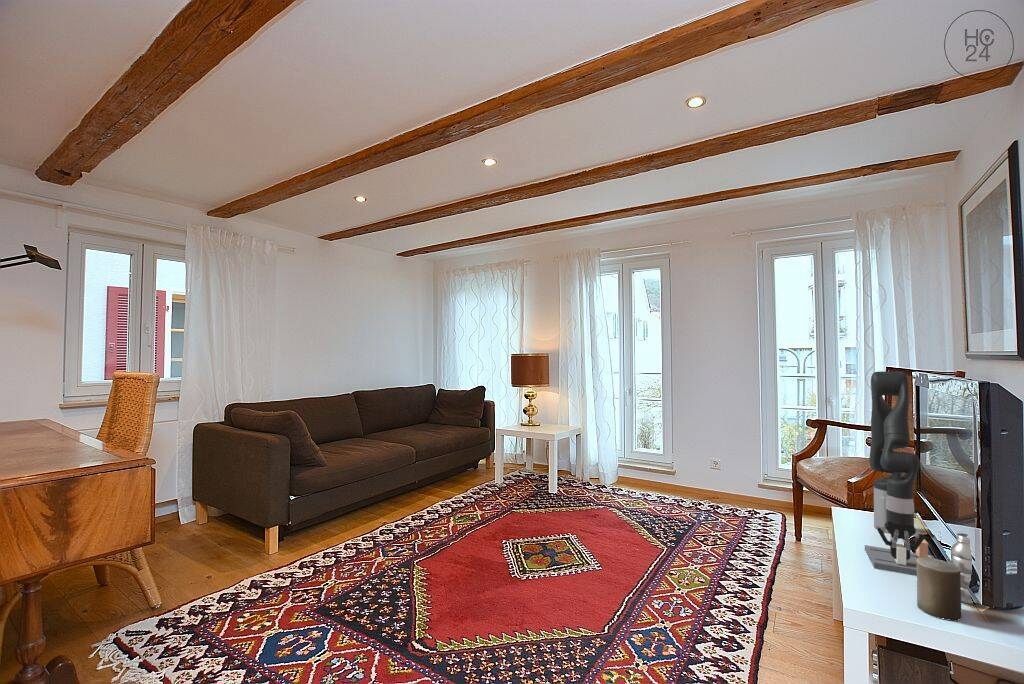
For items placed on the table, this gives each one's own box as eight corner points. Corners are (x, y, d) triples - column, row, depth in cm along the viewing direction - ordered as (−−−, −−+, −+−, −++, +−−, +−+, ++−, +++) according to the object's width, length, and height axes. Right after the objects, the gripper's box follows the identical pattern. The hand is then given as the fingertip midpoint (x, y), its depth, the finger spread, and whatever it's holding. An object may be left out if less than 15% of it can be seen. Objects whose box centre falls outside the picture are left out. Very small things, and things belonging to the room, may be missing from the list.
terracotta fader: (919, 558, 166) (919, 542, 166) (915, 553, 169) (915, 538, 169) (928, 559, 165) (928, 543, 165) (924, 554, 168) (924, 539, 168)
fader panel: (874, 568, 163) (874, 562, 163) (864, 550, 177) (864, 544, 177) (949, 581, 154) (949, 575, 154) (933, 561, 168) (933, 555, 168)
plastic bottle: (987, 608, 138) (986, 540, 139) (960, 605, 140) (960, 539, 140) (970, 596, 145) (969, 532, 145) (945, 594, 146) (944, 530, 146)
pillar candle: (965, 625, 130) (965, 571, 130) (919, 613, 136) (919, 561, 136) (956, 609, 138) (956, 558, 138) (913, 598, 144) (913, 550, 144)
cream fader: (897, 563, 161) (897, 547, 161) (894, 559, 165) (894, 543, 165) (906, 565, 160) (906, 548, 160) (902, 560, 164) (902, 544, 164)
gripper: (922, 509, 163) (922, 558, 163) (872, 502, 169) (872, 550, 169) (929, 516, 156) (929, 567, 156) (877, 509, 163) (877, 559, 163)
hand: (900, 558), depth 163 cm, fingers closed on cream fader, 2 cm apart
